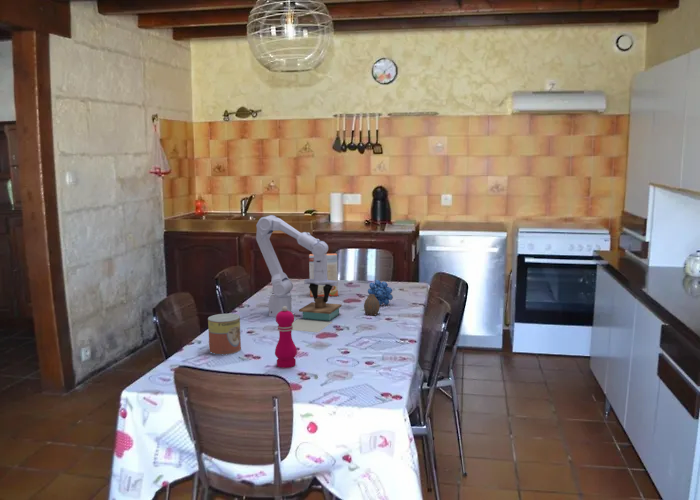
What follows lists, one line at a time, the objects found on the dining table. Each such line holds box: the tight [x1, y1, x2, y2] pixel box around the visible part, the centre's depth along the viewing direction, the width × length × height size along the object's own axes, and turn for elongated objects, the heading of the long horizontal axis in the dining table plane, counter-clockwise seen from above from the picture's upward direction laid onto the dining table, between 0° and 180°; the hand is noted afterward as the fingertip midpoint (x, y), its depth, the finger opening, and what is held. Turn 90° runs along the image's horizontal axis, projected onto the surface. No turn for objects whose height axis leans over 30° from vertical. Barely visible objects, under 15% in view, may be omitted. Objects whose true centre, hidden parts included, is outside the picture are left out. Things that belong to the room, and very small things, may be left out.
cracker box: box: [308, 252, 339, 298], centre depth 304 cm, size 14×6×21 cm, turn 94°
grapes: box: [367, 279, 394, 306], centre depth 282 cm, size 12×7×12 cm, turn 86°
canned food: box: [207, 313, 242, 356], centre depth 219 cm, size 11×11×12 cm
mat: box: [292, 318, 333, 333], centre depth 249 cm, size 16×16×1 cm
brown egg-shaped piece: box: [363, 293, 381, 316], centre depth 267 cm, size 7×7×9 cm
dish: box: [302, 308, 340, 322], centre depth 263 cm, size 12×12×4 cm
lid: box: [298, 296, 343, 314], centre depth 262 cm, size 14×14×5 cm
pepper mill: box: [274, 306, 298, 369], centre depth 202 cm, size 7×7×20 cm
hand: (321, 301), depth 262 cm, fingers open, 4 cm apart
